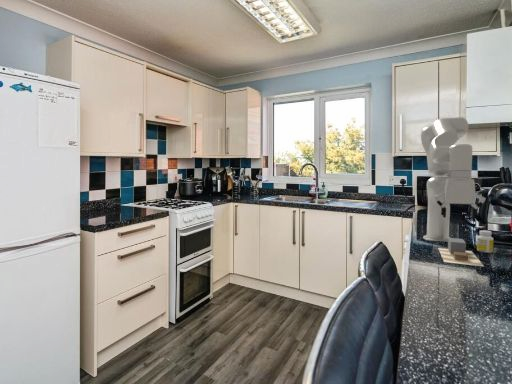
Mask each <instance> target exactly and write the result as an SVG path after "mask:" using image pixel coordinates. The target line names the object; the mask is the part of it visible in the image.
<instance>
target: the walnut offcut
mask: <svg viewBox="0 0 512 384" xmlns="http://www.w3.org/2000/svg"><path fill="white" fill-rule="evenodd" d="M453 257H454V259H455V260H463V261H468V255H467V254H466V253H461V252H454V254H453Z"/></svg>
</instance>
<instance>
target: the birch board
mask: <svg viewBox="0 0 512 384" xmlns="http://www.w3.org/2000/svg"><path fill="white" fill-rule="evenodd" d="M437 249H438V251H439V253H440V256H441V258H442V261H443V262H444V263H450V264H460V265H469V266H476V267H485V266H484V264H483V263H482V261H481V260H479V258H478V257H477V256H476V254H475V253H474V252H473V251H472V250H466V254H467V255H468V261H463V260H455V259H454V257H453V254H450V252H449V251H448V248H444V247H443V248H441V247H438V248H437Z"/></svg>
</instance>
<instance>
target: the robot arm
mask: <svg viewBox="0 0 512 384" xmlns="http://www.w3.org/2000/svg"><path fill="white" fill-rule="evenodd" d="M468 131H469V122H468V120H467V119H466V118H464V117H443V118H438V119H437V120H435V121H434V122H433V123H432V125H430V126H426V127H423V129H421V133H420V140H421V141H420V142H421V145H422V148H423V150H424V152H425V153H426V154H425V155H426V160H427V161H426V162H427V169H428V174H429V176H431V177H430V178H429V179H428V180H427V181H426V190H427V191H426V193H427V219H426V220H427V221H426V222H427V223H426V234H425V235H423V237H422V238H423V239H424V240H425V241H435V242H445V243H446V242H447V243H448V238H451V237H450V217H451V204H452V205H453V204H455V205H457V204H458V205H470V206H471V209H470V219H472V220H475V218H476V217H477V209H479V208H480V207H481V206H482V205H483V204H484V203H485V201H487V200H486V199H487V198H486V197H484V196H482V195H480V194H478V193H476V186H475V185H476V184H475V180H474V178H472V170H473V169H472V168H473V165H472V164H473V146H472V145H471V144H469V143H461V144H459V143H458V144H457V142H458V141H459V140H460V139H462V138H463V137H464V136H465V135H466V134H467V132H468ZM476 198H477V199H479V201H478V202H477V203H475V202H476Z"/></svg>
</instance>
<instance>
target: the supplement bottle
mask: <svg viewBox="0 0 512 384" xmlns="http://www.w3.org/2000/svg"><path fill="white" fill-rule="evenodd" d="M476 250H477V252H479V253H480V252H481V253H489V254H491V253H493V252H494V237H492V231H490V230H483V229H482V230H480V229H479V235H478V236H477V237H476Z"/></svg>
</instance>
